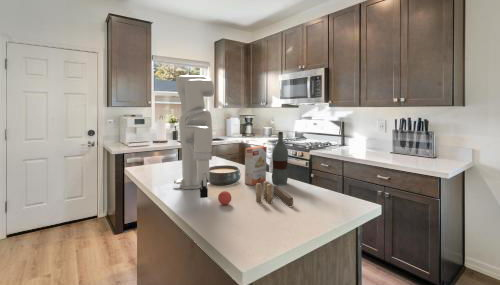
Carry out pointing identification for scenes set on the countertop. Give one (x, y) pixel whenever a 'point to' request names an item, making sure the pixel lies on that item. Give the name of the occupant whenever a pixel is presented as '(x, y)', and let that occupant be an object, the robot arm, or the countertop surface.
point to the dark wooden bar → (283, 195)
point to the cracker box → (255, 165)
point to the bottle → (280, 162)
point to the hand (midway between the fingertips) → (203, 197)
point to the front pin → (258, 192)
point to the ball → (224, 197)
